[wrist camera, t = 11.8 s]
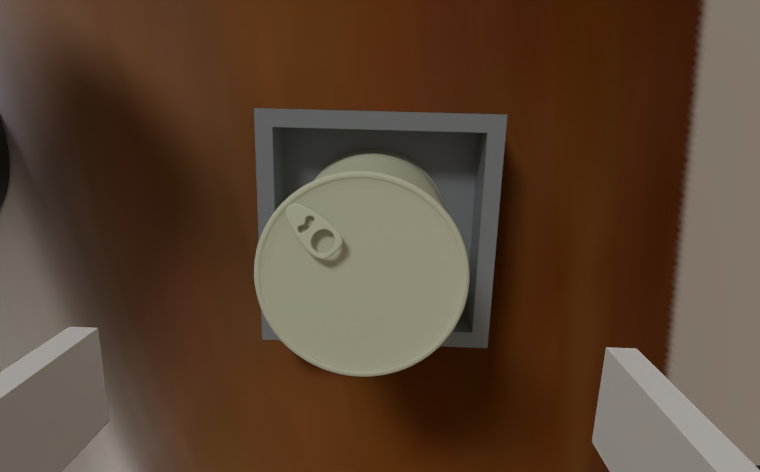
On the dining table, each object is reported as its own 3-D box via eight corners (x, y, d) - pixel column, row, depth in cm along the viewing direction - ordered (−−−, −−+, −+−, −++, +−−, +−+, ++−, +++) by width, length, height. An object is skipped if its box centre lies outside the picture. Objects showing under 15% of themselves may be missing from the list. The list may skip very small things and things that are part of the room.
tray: (277, 314, 35) (262, 339, 31) (271, 108, 31) (253, 108, 28) (477, 321, 34) (487, 348, 31) (493, 114, 31) (507, 114, 27)
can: (375, 117, 30) (362, 120, 19) (475, 224, 32) (520, 288, 20) (273, 219, 32) (202, 278, 20) (371, 315, 33) (358, 423, 22)
